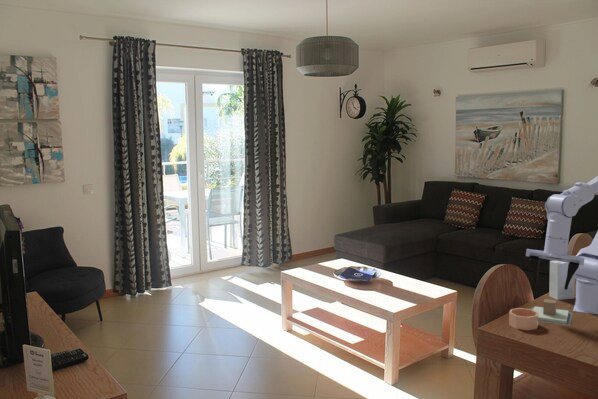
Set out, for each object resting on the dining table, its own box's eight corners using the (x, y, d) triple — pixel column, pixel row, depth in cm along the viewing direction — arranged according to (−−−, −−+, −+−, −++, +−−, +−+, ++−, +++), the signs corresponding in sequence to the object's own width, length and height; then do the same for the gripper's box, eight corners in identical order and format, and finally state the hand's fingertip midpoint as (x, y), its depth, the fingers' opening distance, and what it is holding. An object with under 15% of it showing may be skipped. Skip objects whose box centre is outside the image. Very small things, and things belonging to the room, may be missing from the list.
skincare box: (565, 295, 166) (566, 258, 165) (575, 300, 162) (576, 261, 160) (548, 297, 165) (548, 260, 164) (557, 301, 161) (558, 263, 159)
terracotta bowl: (511, 320, 147) (512, 306, 147) (539, 324, 144) (539, 310, 143) (507, 329, 141) (507, 314, 141) (535, 333, 138) (536, 318, 137)
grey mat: (531, 309, 156) (531, 307, 155) (572, 314, 150) (572, 312, 150) (525, 321, 146) (525, 319, 146) (570, 327, 141) (570, 325, 140)
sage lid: (534, 308, 154) (534, 294, 154) (568, 313, 150) (569, 298, 149) (530, 318, 146) (530, 303, 146) (566, 323, 142) (566, 308, 141)
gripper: (527, 234, 145) (520, 282, 146) (586, 243, 137) (579, 294, 138) (530, 233, 151) (524, 279, 152) (587, 241, 144) (580, 289, 145)
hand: (550, 286), depth 146 cm, fingers open, 7 cm apart
